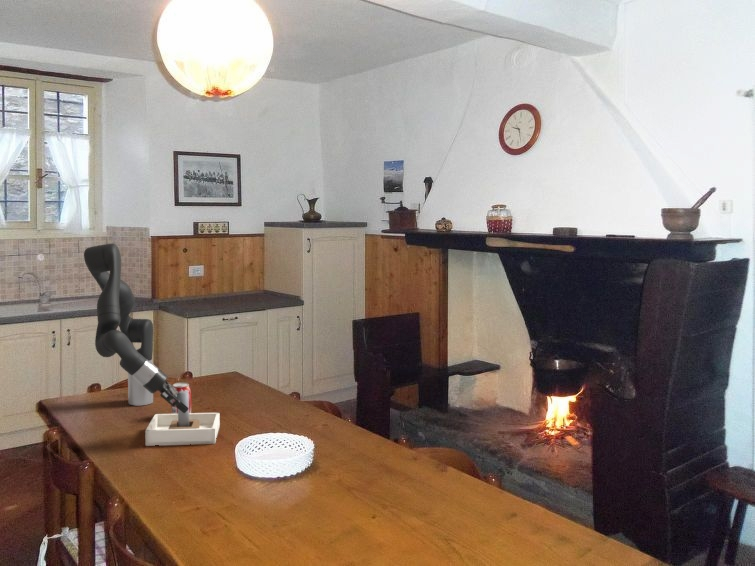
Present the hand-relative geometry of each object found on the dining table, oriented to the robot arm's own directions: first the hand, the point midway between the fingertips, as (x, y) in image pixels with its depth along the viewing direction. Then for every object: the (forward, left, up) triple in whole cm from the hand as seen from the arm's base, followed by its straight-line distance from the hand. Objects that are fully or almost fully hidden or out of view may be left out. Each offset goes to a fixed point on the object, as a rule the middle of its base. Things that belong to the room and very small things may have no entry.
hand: (185, 407), depth 234 cm
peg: (0, -1, -9) cm, 9 cm away
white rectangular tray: (0, -1, -10) cm, 10 cm away
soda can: (-22, -5, -10) cm, 24 cm away
